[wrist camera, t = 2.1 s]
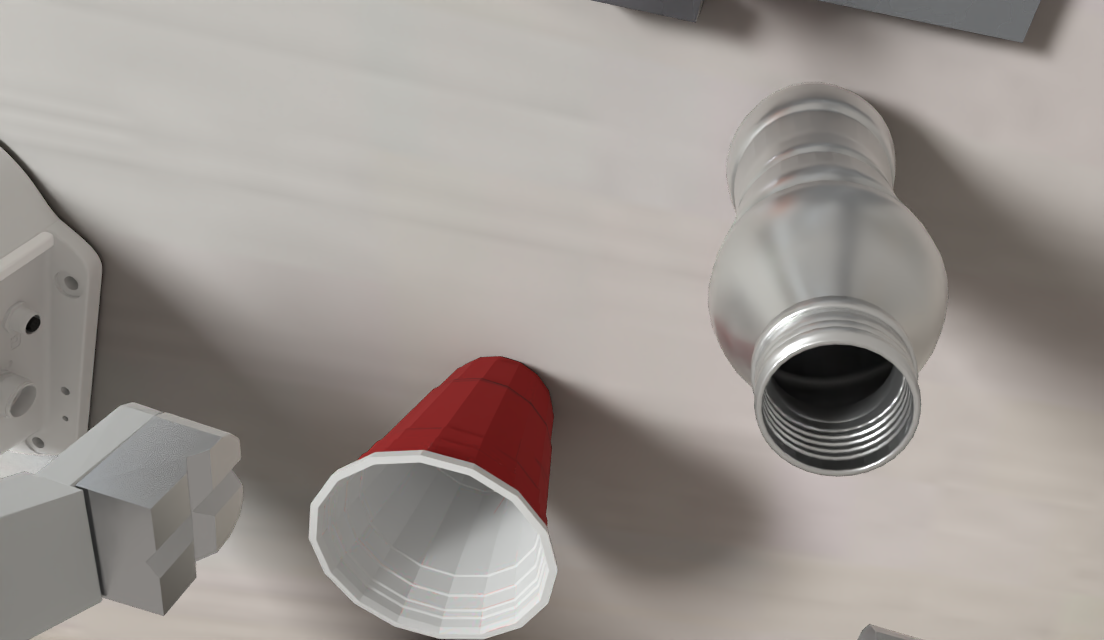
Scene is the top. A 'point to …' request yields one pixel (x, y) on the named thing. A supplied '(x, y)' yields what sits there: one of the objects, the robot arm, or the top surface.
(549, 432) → the plastic cup
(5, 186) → the robot arm
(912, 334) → the plastic bottle
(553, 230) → the top surface
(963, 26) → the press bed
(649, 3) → the rail
